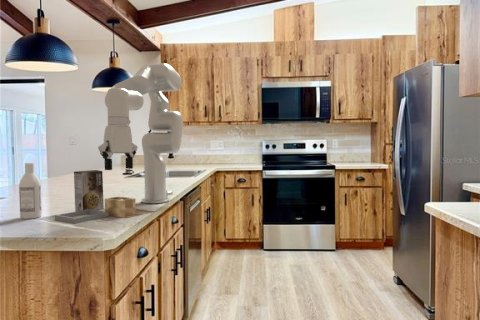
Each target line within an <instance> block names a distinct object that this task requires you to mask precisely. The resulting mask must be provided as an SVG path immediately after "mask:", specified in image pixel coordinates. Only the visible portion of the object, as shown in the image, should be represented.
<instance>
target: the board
mask: <svg viewBox="0 0 480 320" xmlns="http://www.w3.org/2000/svg"><path fill="white" fill-rule="evenodd" d="M155 212H157V211H155V210H147V209H142V208H141V209H139V208H136V214H135V215H131V216H126V217H119V218H121V219H130V218H135V217H139V216H143V215H147V214H151V213H152V214H153V213H155ZM113 217H114V218H117V217H116V216H113Z"/></svg>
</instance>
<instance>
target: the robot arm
mask: <svg viewBox="0 0 480 320" xmlns="http://www.w3.org/2000/svg"><path fill="white" fill-rule="evenodd" d="M182 81H183V80H182V78H181V75H180V74H179V72H177V70H175V69H174V68H173V66H171V65H170V64H168V63H147V64H144V65H142V67H140V68H139V69H138V71H136V73H135V74H134V75H133V76H132V77H129V78H127V79H124V80H122V81H120V82H117V83H115V84H114V85H113V86H111V88H109V89H108V90H107V91H106V94H105V96H104V104H105V107H106V108H107V125H106V126H105V129H104V135H103V143H102V144H100V145H99V146H98V147H97V149H98V151H99V153H100V155H101V156H102V159H104V171H112V170H113V159H112V157H113V155H114V154H124V155H125V156H126V157H125V169H128V170H129V169H131V170H133V167H134V161H133V160H134V158H135V155H136V154H137V150H138V146H137V145H136V144H135V143H133V137H132V134H133V133H132V129H131V126H130V124H131V120H130V112H132V111H138V110H139V111H140V110H141V108H143V106H144V102H145V101H144V97H143V95H146V94H148V97H149V99H150V108H149V115H148V123H147V125H148V129H149V130H151V131H153V132H148V133H145V134H143V136H142V137H141V147H142V151H143V164H144V165H143V166H144V168H143V169H144V170H143V171H144V174H143V175H144V198H143V197H142V198H141V199H140V200H141V202H142V203H144V204H163V203H168V202H170V197H168V196H172V195H173V191H172V190H169V191H168V190H166V189H167V187H166V186H167V179H166V176H167V175H166V172H167V171H166V160H165V159H164V157H163V156H162V154H176V153H178V152H179V151H180V148H181V144H182V136H183V129H184V128H183V127H184V119H183V116H182V113H181V112H179V111H176V110H169V108H170V102H169V100H168V98H167V97H166V96H165V94H164V93H162V92H178V91H179V90H181V89H182V85H183V82H182Z"/></svg>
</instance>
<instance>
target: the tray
mask: <svg viewBox="0 0 480 320" xmlns="http://www.w3.org/2000/svg"><path fill="white" fill-rule="evenodd" d="M84 215H85V216H84ZM78 216H80V217H78ZM108 217H110V216H109V212H105V210H104V211H103V210H90V209H87V210H81V211H76V212H75V211H71V212H64V213H61V214H55V215H54V220H55V221H60V222H66V223H71V224H80V223H85V222H90V221H93V220H99V219H103V218H108Z"/></svg>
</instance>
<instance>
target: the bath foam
mask: <svg viewBox="0 0 480 320" xmlns="http://www.w3.org/2000/svg"><path fill="white" fill-rule="evenodd" d="M18 192H19V193H18V194H19V217H20V219H23V220H31V219H38V218H40V217H42V183H41V181H40V179H39V177H38V176H37V175H36V173H35V163H34V162H25V163H24V174H23V176H22V177H21V179H20V181H19V187H18Z"/></svg>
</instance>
